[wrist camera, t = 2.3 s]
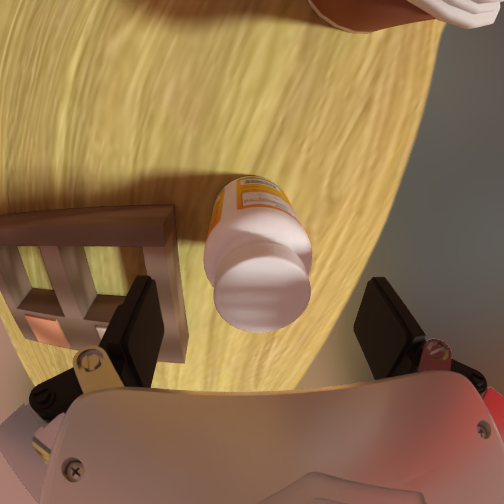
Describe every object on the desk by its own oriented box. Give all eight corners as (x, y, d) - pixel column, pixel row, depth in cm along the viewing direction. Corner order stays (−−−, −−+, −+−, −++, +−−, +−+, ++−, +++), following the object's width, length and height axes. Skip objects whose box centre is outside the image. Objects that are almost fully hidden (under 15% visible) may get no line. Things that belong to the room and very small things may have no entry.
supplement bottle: (239, 256, 21) (241, 358, 13) (198, 200, 19) (168, 282, 10) (301, 223, 20) (344, 312, 12) (266, 160, 18) (293, 213, 9)
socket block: (-1, 215, 18) (-24, 232, 14) (174, 204, 19) (160, 226, 16) (38, 318, 24) (24, 340, 21) (188, 335, 25) (184, 366, 22)
